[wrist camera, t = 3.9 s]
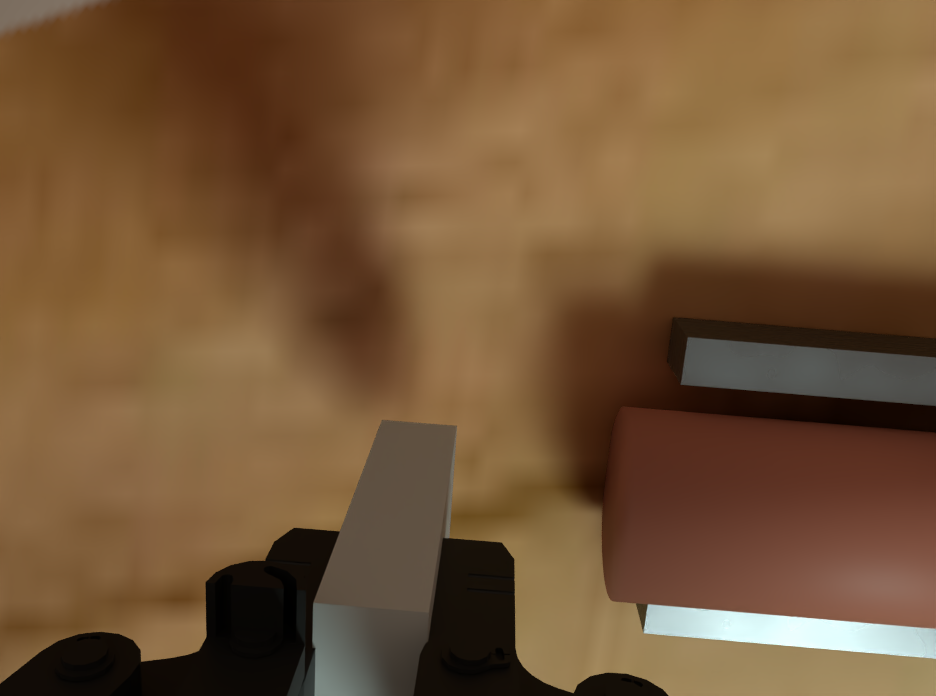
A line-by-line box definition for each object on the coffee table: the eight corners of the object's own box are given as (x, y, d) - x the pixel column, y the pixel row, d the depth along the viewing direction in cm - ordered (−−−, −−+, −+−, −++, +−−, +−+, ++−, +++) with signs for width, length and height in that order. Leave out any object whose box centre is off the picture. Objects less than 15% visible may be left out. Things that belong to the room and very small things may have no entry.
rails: (633, 593, 21) (643, 633, 20) (673, 317, 19) (687, 337, 18) (1035, 628, 21) (1077, 670, 20) (1115, 353, 19) (1168, 376, 18)
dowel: (596, 527, 21) (614, 643, 18) (619, 375, 20) (644, 467, 16) (1019, 563, 21) (1126, 688, 18) (1075, 412, 20) (1205, 514, 16)
